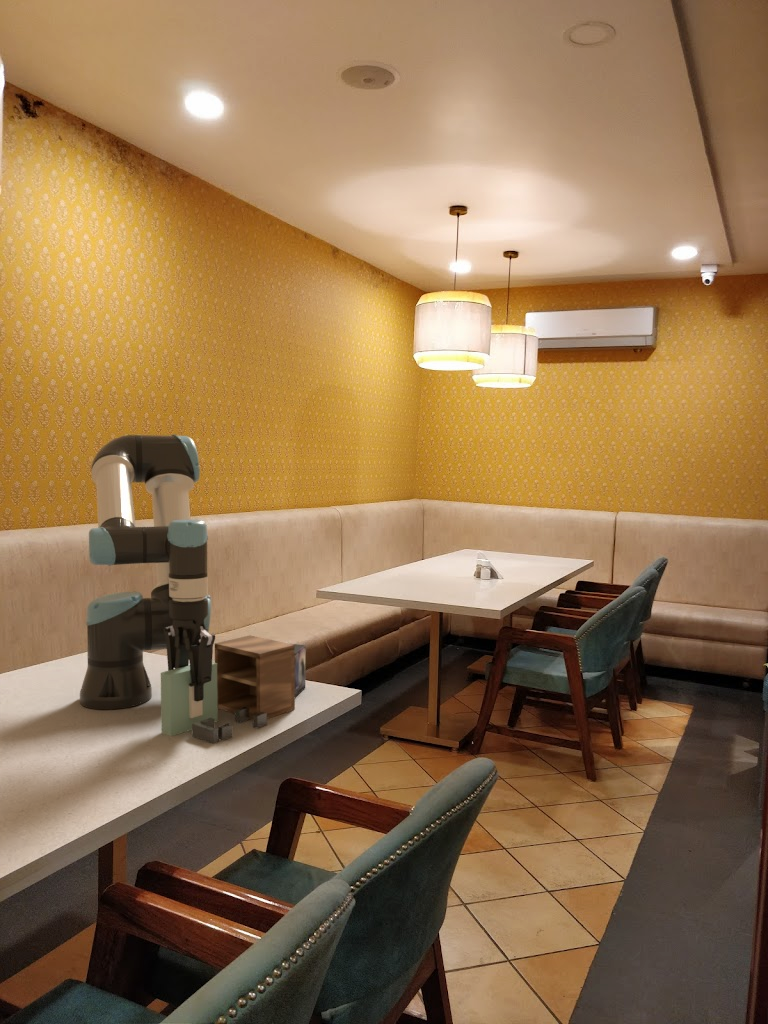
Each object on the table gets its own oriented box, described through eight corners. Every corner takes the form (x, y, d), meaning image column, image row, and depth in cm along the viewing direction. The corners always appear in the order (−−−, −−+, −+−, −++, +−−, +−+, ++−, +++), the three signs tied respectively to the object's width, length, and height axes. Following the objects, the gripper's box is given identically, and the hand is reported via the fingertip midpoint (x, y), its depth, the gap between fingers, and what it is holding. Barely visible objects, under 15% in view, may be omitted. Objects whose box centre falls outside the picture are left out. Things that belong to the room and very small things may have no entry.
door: (161, 732, 159) (160, 672, 158) (208, 717, 168) (207, 660, 167) (171, 736, 157) (170, 675, 156) (217, 721, 166) (217, 663, 165)
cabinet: (215, 707, 174) (214, 643, 173) (250, 696, 182) (249, 635, 181) (260, 721, 166) (259, 653, 165) (294, 709, 173) (294, 644, 172)
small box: (293, 701, 179) (292, 654, 178) (265, 699, 180) (264, 653, 180) (307, 688, 189) (307, 643, 189) (280, 686, 191) (280, 642, 190)
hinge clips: (192, 736, 157) (192, 723, 157) (245, 718, 167) (245, 706, 167) (213, 743, 153) (213, 730, 153) (266, 725, 163) (266, 712, 163)
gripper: (147, 595, 162) (149, 710, 164) (199, 605, 152) (201, 727, 154) (178, 591, 168) (180, 701, 170) (230, 600, 158) (231, 717, 160)
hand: (190, 714), depth 162 cm, fingers closed on door, 3 cm apart
